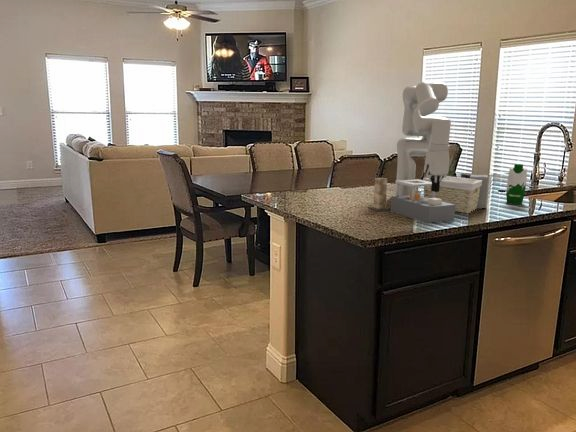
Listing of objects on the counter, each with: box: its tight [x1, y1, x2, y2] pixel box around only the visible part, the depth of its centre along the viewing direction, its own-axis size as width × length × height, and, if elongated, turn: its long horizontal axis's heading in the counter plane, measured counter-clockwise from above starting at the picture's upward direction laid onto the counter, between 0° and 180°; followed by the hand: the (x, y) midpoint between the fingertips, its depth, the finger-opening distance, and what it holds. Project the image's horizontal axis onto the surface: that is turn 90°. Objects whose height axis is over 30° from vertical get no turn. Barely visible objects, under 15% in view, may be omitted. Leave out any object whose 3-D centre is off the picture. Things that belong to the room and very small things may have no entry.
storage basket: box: [423, 176, 482, 214], centre depth 241 cm, size 24×16×15 cm
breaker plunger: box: [409, 193, 422, 200], centre depth 229 cm, size 5×5×8 cm
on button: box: [428, 198, 442, 205], centre depth 217 cm, size 4×4×7 cm
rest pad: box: [368, 206, 391, 212], centre depth 238 cm, size 7×7×1 cm
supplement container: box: [460, 172, 480, 179], centre depth 278 cm, size 10×10×12 cm
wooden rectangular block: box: [373, 177, 388, 209], centre depth 237 cm, size 4×4×14 cm
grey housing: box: [389, 178, 456, 224], centre depth 224 cm, size 26×14×14 cm, turn 25°
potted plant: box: [447, 155, 457, 177], centre depth 298 cm, size 10×10×25 cm
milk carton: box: [505, 163, 528, 205], centre depth 258 cm, size 9×9×20 cm
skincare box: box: [470, 174, 489, 209], centre depth 245 cm, size 8×7×16 cm
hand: (435, 191), depth 216 cm, fingers closed
